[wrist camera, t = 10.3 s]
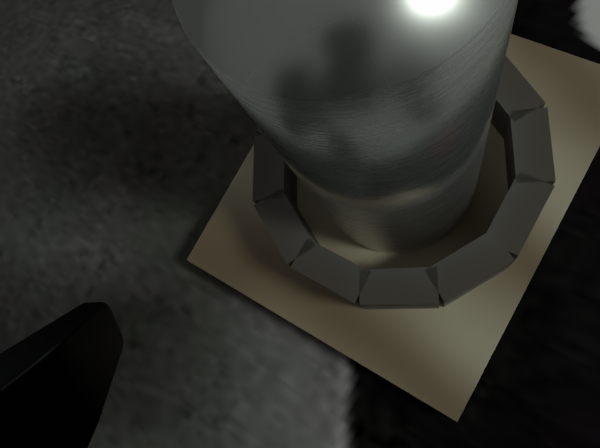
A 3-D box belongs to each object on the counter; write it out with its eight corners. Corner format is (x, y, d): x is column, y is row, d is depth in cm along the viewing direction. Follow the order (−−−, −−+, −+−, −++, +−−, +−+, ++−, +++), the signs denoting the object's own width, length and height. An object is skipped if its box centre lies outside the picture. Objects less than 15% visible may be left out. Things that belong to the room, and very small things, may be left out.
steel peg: (430, 281, 20) (417, 161, 8) (293, 210, 22) (106, 23, 10) (505, 141, 20) (605, -182, 8) (364, 84, 22) (275, -247, 10)
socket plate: (456, 418, 20) (459, 429, 17) (196, 263, 23) (163, 251, 21) (626, 89, 21) (656, 47, 18) (353, -7, 25) (342, -54, 22)
